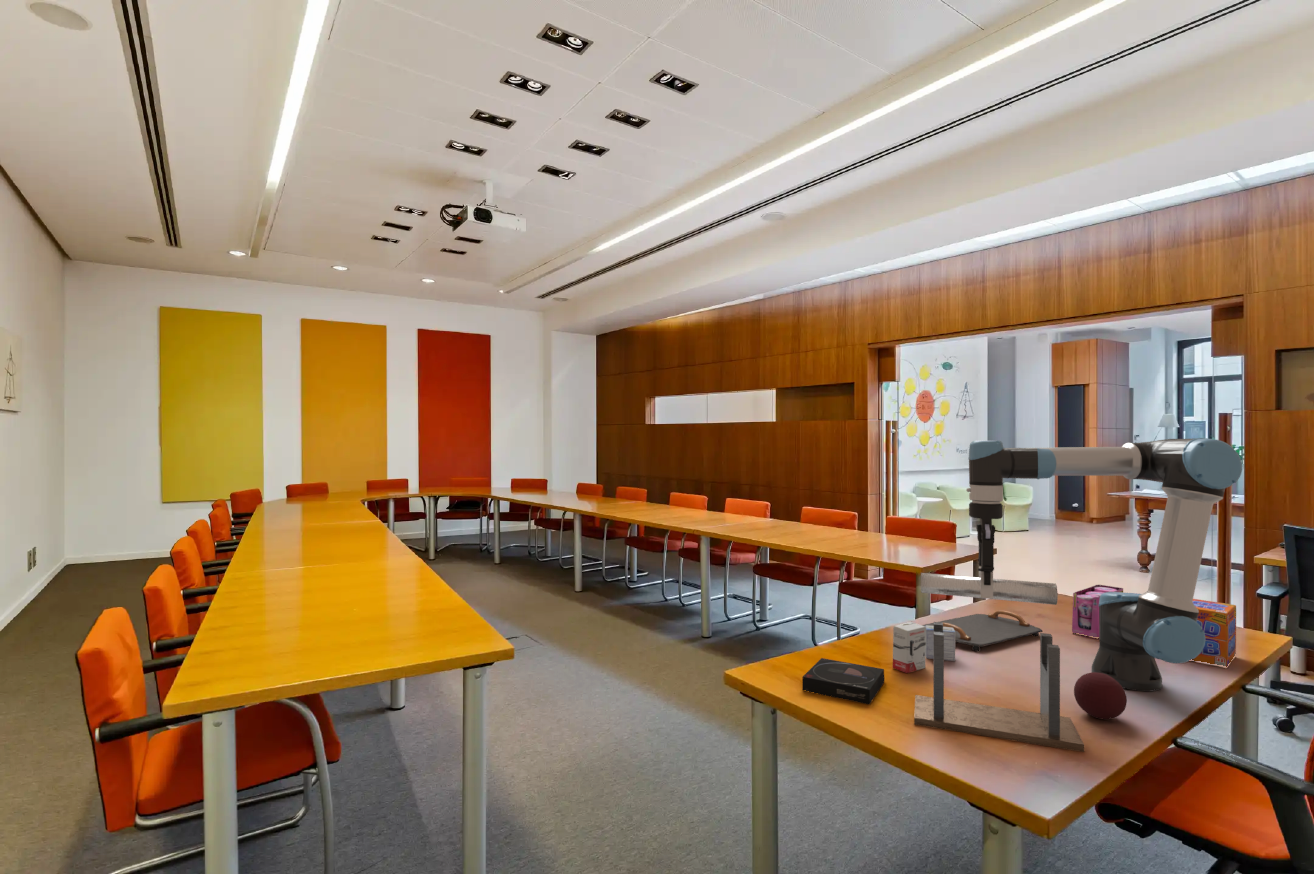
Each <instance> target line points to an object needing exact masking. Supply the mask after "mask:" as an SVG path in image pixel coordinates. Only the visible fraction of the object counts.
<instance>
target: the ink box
mask: <svg viewBox="0 0 1314 874" xmlns="http://www.w3.org/2000/svg"><path fill="white" fill-rule="evenodd" d="M922 625H923V624H919V623H916V622H913V621H908V622H904V623H901V624H900V623H899V624H895V625H894V626H893V630H892V631H893V635H892V669H895V670H897V671H900V672H903V673H906V674H909V673H912V672H916V671H920V670H922V669H925V668H926V626H922Z"/></svg>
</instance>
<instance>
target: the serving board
mask: <svg viewBox="0 0 1314 874" xmlns="http://www.w3.org/2000/svg"><path fill="white" fill-rule="evenodd" d="M999 615H1004V616H1009V617H1012V618H1015V619H1012V618H1008V617H1003V616H999ZM939 622H941V623H943V627H952V628H954V630H955V643H958V644H965V645H968V646H972V648H971V649H972V651H974V652H980V651H981V647H986V646H989V645H993V644H999V643H1003V642H1006V641H1011V640H1016V639H1018V638H1024V637H1029V636H1030V635H1031V634H1032V635H1033V637H1036V636H1038V637H1039V636H1040V633H1044V632H1043V630H1042V628H1040V627H1036V626H1035V625H1032V624H1030V623H1029V622H1026V621H1025V619H1024V618H1023V617H1022V616H1021V615H1019V614H1017V613H1015V612H1012V611H1008V610H996V611H995V612H993V613H988V614H985V613H975V614H970V615H964V616H960V617H955V618H950V619H945V620H940V621H939ZM921 625H922V626H926V625H929V626H934V622H930V623H925V624H921ZM1032 635H1031V636H1032Z"/></svg>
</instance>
